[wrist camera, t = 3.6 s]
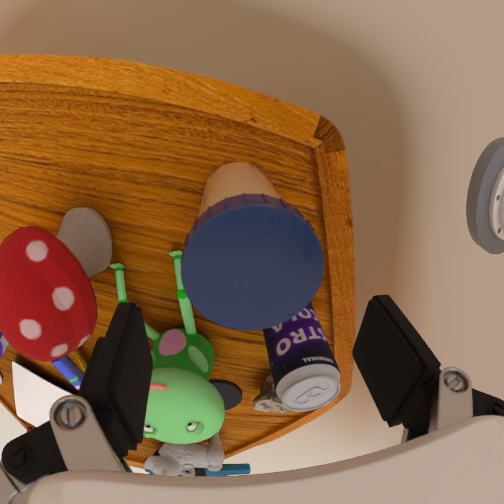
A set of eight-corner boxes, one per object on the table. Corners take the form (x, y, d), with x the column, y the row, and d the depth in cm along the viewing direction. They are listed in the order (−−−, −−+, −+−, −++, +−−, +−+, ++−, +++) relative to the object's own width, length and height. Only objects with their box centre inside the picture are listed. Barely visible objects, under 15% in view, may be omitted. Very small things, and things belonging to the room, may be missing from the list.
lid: (322, 194, 15) (335, 206, 13) (305, 307, 18) (313, 328, 16) (180, 191, 14) (175, 203, 12) (187, 310, 17) (185, 332, 15)
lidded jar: (274, 163, 25) (323, 210, 13) (270, 228, 28) (305, 317, 16) (203, 161, 24) (186, 209, 13) (203, 228, 27) (192, 320, 16)
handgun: (145, 484, 50) (140, 467, 43) (145, 475, 52) (140, 455, 46) (238, 488, 55) (251, 472, 49) (236, 479, 58) (250, 461, 51)
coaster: (242, 378, 37) (242, 382, 37) (241, 407, 40) (241, 410, 40) (188, 379, 36) (188, 382, 36) (193, 407, 39) (193, 410, 39)
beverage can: (320, 304, 32) (357, 386, 22) (284, 335, 34) (307, 419, 23) (285, 277, 30) (317, 364, 20) (248, 312, 32) (262, 402, 21)
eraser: (88, 378, 36) (79, 380, 36) (64, 351, 33) (55, 353, 33) (86, 388, 34) (76, 390, 34) (60, 361, 31) (50, 363, 31)
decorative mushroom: (143, 271, 28) (101, 392, 15) (76, 284, 28) (16, 388, 15) (113, 176, 24) (16, 251, 10) (42, 200, 24) (-56, 277, 10)
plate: (19, 409, 40) (16, 416, 38) (16, 352, 32) (11, 361, 30) (112, 452, 47) (111, 460, 45) (141, 413, 39) (139, 424, 38)
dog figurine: (148, 416, 40) (141, 472, 30) (226, 427, 43) (229, 483, 33) (148, 430, 42) (142, 482, 33) (219, 440, 45) (222, 491, 35)
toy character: (193, 238, 29) (172, 312, 17) (231, 370, 35) (236, 457, 23) (107, 257, 28) (49, 329, 16) (161, 379, 35) (146, 461, 23)
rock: (340, 355, 35) (290, 396, 28) (345, 400, 35) (300, 444, 28) (288, 349, 41) (237, 380, 35) (296, 390, 42) (249, 423, 35)
